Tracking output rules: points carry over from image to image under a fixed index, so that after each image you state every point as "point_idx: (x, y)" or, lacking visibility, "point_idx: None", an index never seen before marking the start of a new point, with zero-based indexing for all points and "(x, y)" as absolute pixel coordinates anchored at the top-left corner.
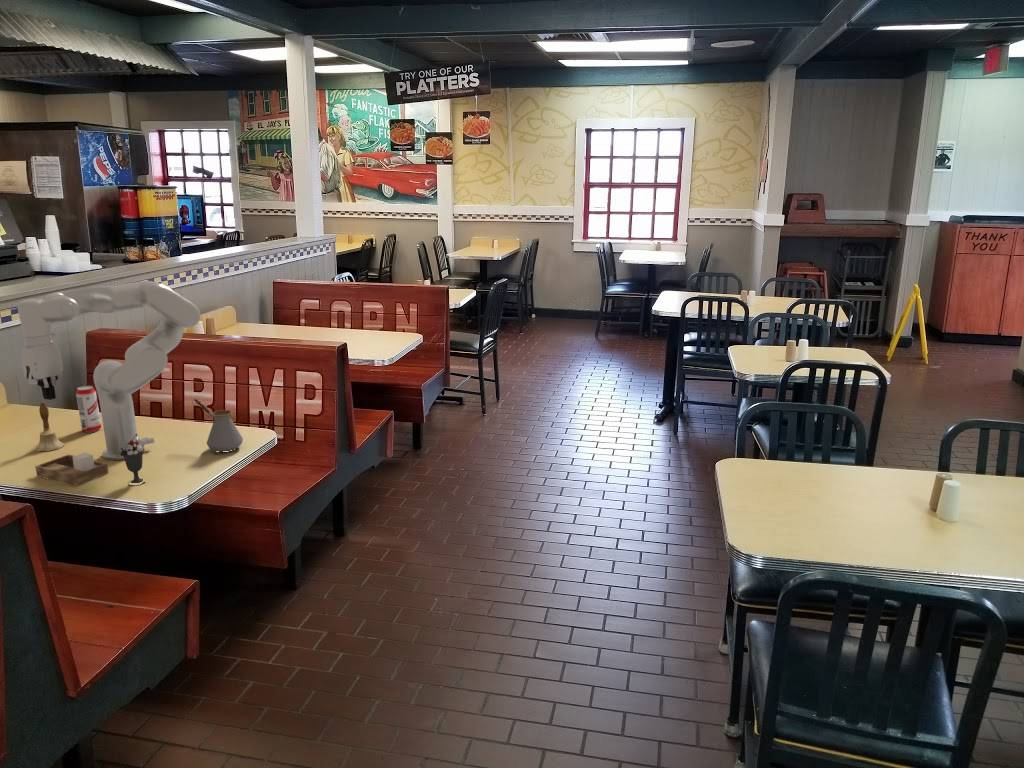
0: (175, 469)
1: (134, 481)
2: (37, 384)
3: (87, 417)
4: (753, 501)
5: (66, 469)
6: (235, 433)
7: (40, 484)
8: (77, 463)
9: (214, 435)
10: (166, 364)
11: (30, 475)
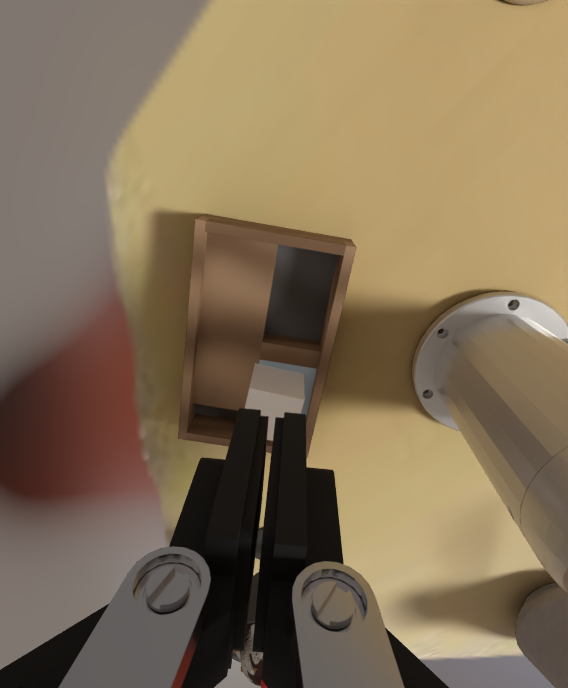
0: (381, 574)
1: (260, 551)
2: (37, 665)
3: None
4: None
5: (239, 341)
6: None
7: (151, 297)
8: (246, 400)
9: (550, 664)
10: None
11: (198, 181)
